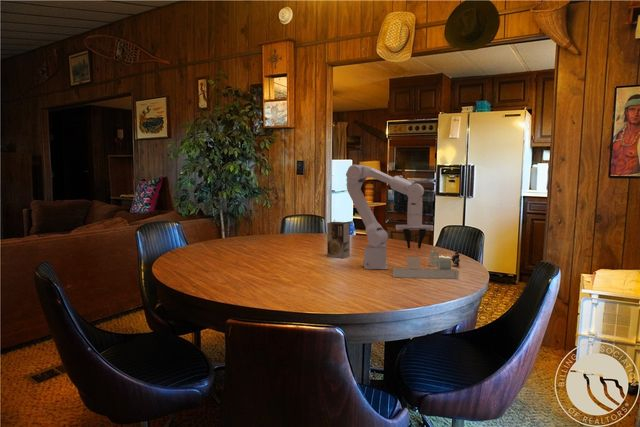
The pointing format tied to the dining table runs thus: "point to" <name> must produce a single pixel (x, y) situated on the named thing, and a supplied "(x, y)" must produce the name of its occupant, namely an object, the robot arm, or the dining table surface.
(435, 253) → the valve
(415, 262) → the block
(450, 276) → the rail
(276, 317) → the dining table surface
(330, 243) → the coffee box
